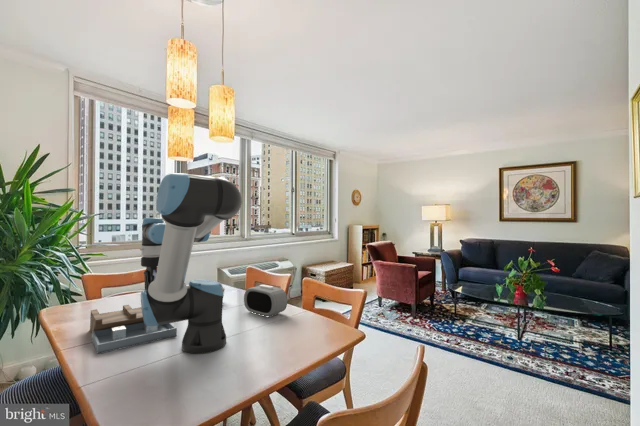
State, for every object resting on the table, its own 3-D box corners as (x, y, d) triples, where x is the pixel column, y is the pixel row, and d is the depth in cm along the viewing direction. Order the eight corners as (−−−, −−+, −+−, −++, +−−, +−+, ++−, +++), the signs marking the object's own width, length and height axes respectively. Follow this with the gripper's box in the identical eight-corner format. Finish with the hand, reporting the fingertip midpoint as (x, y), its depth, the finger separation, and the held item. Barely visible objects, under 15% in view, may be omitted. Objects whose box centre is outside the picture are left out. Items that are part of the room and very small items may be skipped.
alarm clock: (242, 311, 150) (243, 284, 150) (256, 307, 158) (257, 281, 158) (273, 320, 139) (274, 291, 139) (287, 315, 147) (287, 287, 147)
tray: (176, 335, 118) (176, 328, 118) (97, 353, 101) (97, 344, 101) (164, 324, 129) (164, 317, 129) (91, 339, 112) (92, 331, 112)
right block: (154, 329, 122) (157, 332, 119) (143, 331, 120) (145, 334, 117) (154, 319, 122) (157, 321, 119) (143, 321, 120) (146, 324, 117)
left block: (123, 336, 115) (125, 339, 112) (110, 338, 112) (112, 342, 109) (124, 325, 115) (126, 328, 112) (111, 327, 112) (113, 331, 109)
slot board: (165, 327, 126) (166, 308, 126) (94, 342, 110) (95, 320, 110) (155, 318, 137) (156, 300, 137) (89, 330, 121) (90, 310, 121)
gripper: (137, 254, 124) (135, 312, 123) (145, 258, 114) (143, 321, 114) (157, 253, 129) (155, 309, 128) (167, 257, 119) (164, 317, 119)
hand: (149, 314), depth 121 cm, fingers closed
